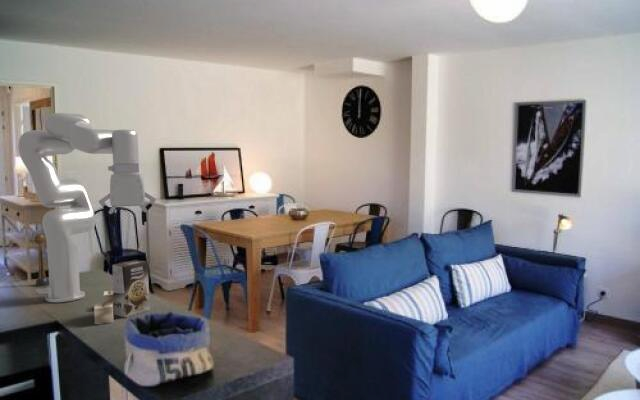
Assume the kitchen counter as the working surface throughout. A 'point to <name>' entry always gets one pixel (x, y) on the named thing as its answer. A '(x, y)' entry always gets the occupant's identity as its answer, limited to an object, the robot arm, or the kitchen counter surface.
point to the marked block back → (108, 297)
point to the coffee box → (130, 288)
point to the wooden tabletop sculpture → (40, 261)
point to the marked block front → (103, 313)
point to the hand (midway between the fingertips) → (128, 225)
